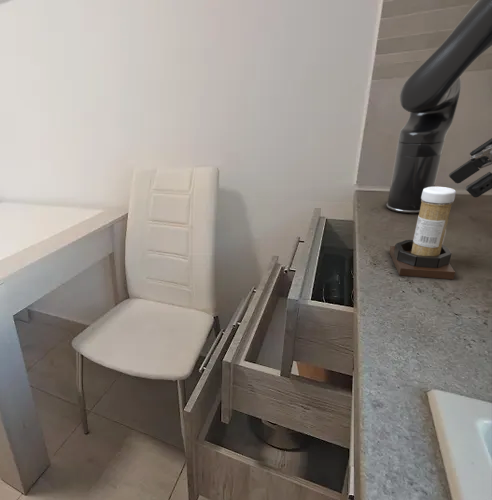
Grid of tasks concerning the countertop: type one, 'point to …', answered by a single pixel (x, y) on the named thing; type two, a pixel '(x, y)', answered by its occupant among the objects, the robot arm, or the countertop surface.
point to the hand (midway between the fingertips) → (460, 186)
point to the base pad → (421, 262)
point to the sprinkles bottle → (432, 220)
